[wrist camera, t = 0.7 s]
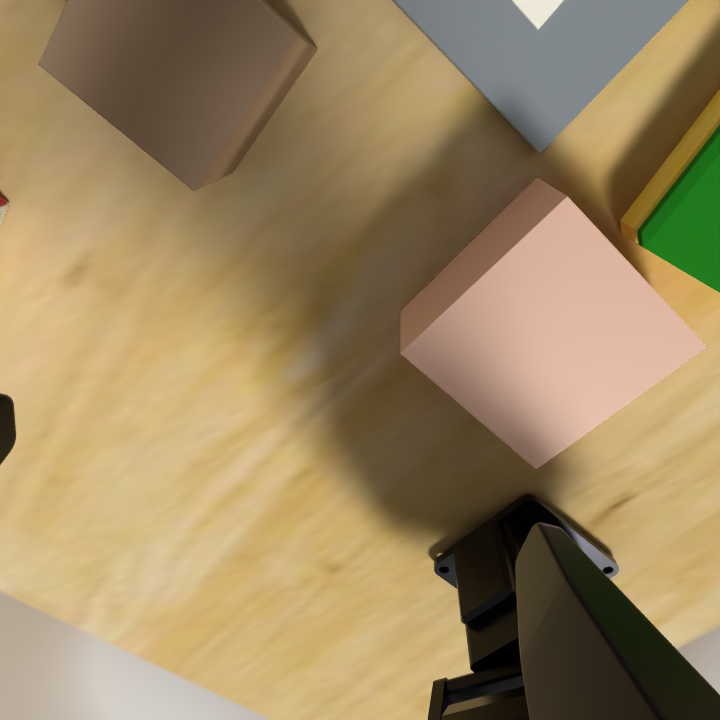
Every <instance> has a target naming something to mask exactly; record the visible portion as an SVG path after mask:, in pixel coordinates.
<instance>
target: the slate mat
mask: <svg viewBox="0 0 720 720" xmlns="http://www.w3.org/2000/svg"><path fill="white" fill-rule="evenodd" d="M392 1H393V2H394V3H395V4H396V5H397V6H398V7H399V8H400V9H401V10H402V11H403V12H404V13H405V14H406V15H407V16H408V18H409V19H410V20H411V21H412V22H413V23H414V24H415V25H416V26H417V27H418V28H419V29H420V30H421V31H422V32H423V33H424V34H425V35H426V36H427V37H428V38H429V39H430V41H431V42H432V43H433V44H434V45H435V46H436V47H437V48H438V49H439V50H440V51H441V52H442V53H443V54H444V55H445V56H446V57H447V58H448V59H449V60H450V61H451V62H452V63H453V65H454V66H455V67H456V68H457V69H458V70H459V71H460V72H461V73H462V74H463V75H464V76H465V77H466V78H467V79H468V80H469V81H470V82H471V83H472V84H473V85H474V86H475V88H476V89H477V90H478V91H479V92H480V93H481V94H482V95H483V96H484V97H485V98H486V99H487V100H488V101H489V102H490V103H491V104H492V105H493V106H494V107H495V108H496V109H497V111H498V112H499V113H500V114H501V115H502V116H503V117H504V118H505V119H506V120H507V121H508V122H509V123H510V124H511V125H512V126H513V127H514V128H515V129H516V130H517V131H518V132H519V133H520V135H521V136H522V137H523V138H524V139H525V140H526V141H527V142H528V143H529V144H530V145H531V146H532V147H533V148H534V149H535V150H536V151H537V152H539V153H541V152H542V151H543V150H544V149H545V148H546V147H547V146H548V145H549V144H550V143H551V142H552V141H553V140H554V139H555V138H556V137H557V136H558V135H559V134H560V133H561V132H562V131H563V130H564V129H565V128H566V126H567V125H568V124H569V123H570V122H571V121H572V120H573V119H574V118H575V117H576V116H577V115H578V114H579V113H580V112H581V111H582V110H583V109H584V108H585V107H586V106H587V105H588V104H589V103H590V102H591V101H592V100H593V99H594V98H595V97H596V96H597V95H598V93H599V92H600V91H601V90H602V89H603V88H604V87H605V86H606V85H607V84H608V83H609V82H610V81H611V80H612V79H613V78H614V77H615V76H616V75H617V74H618V73H619V72H620V71H621V70H622V69H623V68H624V67H625V66H626V65H627V64H628V63H629V62H630V60H631V59H632V58H633V57H634V56H635V55H636V54H637V53H638V52H639V51H640V50H641V49H642V48H643V47H644V46H645V45H646V44H647V43H648V42H649V41H650V40H651V39H652V38H653V37H654V36H655V35H656V34H657V33H658V32H659V31H660V30H661V29H662V27H663V26H664V25H665V24H666V23H667V22H668V21H669V20H670V19H671V18H672V17H673V16H674V15H675V14H676V13H677V12H678V11H679V10H680V9H681V8H682V7H683V6H684V5H685V4H686V3H687V2H688V1H689V0H392Z"/></svg>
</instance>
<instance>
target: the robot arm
mask: <svg viewBox="0 0 720 720" xmlns="http://www.w3.org/2000/svg"><path fill="white" fill-rule="evenodd" d="M15 440H16V426H15V414H14V403H13V400H12V398H11V397H9V396H8V395H5V394H1V393H0V465H1V463H2V462H3V461H4V459H5V458H6V457H7V455H8V454H9V453H10V451H11V450H12V448H13V446H14V444H15ZM527 505H533V506H531V507H526V506H527ZM442 566H446V567H442ZM434 571H435V573H436V574H437V575H438V576H440V577H441V578H443V579H444V580H446V581H447V582H448V583H450V584H451V585H453V586H454V587H455V588H457V589H458V598H459V607H460V616H461V621H462V623H463V624H465V627H466V635H467V644H468V652H469V661H470V669H471V670H472V671H473V672H474V673H470V674H467V675H463V676H459V677H456V678H452V679H447V678H443V679H439V680H435V681H434V682H433V687H432V694H431V701H430V707H429V714H428V720H720V695H719V694H718V692H717V691H716V690H715V689H714V688H713V687H712V686H711V685H710V684H709V683H708V682H707V681H706V680H705V679H704V678H703V677H702V676H701V675H700V673H699V672H698V671H697V670H696V669H695V668H694V667H693V666H692V665H691V664H690V663H689V662H688V661H687V660H686V659H685V658H684V657H683V656H682V655H681V654H680V653H679V651H678V650H677V649H676V648H675V647H674V646H673V645H672V644H671V643H670V642H669V641H668V640H667V639H666V638H665V637H664V636H663V635H662V633H661V632H660V631H659V630H658V629H657V628H656V627H655V626H654V625H653V624H652V623H651V622H650V621H649V620H648V619H647V618H646V617H645V616H644V615H643V613H642V612H641V611H640V610H639V609H638V608H637V607H636V606H635V605H634V604H633V603H632V602H631V601H630V600H629V599H628V598H627V597H626V596H625V595H624V593H623V592H622V591H621V590H620V589H619V588H618V587H617V586H616V585H615V584H614V583H613V582H612V581H611V580H610V578H611V577H613V576H615V575H616V574H617V573H618V571H619V567H618V565H617V563H616V561H615V560H614V558H612V557H611V556H610V555H609V554H608V553H606V552H605V551H604V550H603V549H601V548H600V547H599V546H598V545H596V544H595V543H594V542H593V541H591V540H590V539H589V538H588V537H586V536H585V535H584V534H583V533H581V532H580V531H579V530H578V529H576V528H575V527H574V526H573V525H571V524H570V523H569V522H568V521H567V520H565V519H564V518H563V517H562V516H560V515H559V514H558V513H557V512H555V511H554V510H553V509H552V508H550V507H549V506H548V505H547V504H545V503H544V502H543V501H542V500H540V499H539V498H538V497H536V496H535V495H530V494H529V495H524V496H522V497H521V498H519V499H518V500H516V501H515V502H514V503H512V504H511V505H509V506H508V507H507V508H505V509H504V510H503V511H501V512H500V513H498V514H497V515H496V516H494V517H493V518H491V519H490V520H489V521H487V522H486V523H485V524H483V525H482V526H480V527H479V528H478V529H476V530H475V531H473V532H472V533H471V534H469V535H468V536H467V537H465V538H464V539H462V540H461V541H460V542H458V543H457V544H456V545H454V546H453V547H451V548H450V549H449V550H447V551H446V552H444V553H443V554H442V555H440V556H439V557H438V558H436V559H435V560H434Z"/></svg>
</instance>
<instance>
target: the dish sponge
mask: <svg viewBox="0 0 720 720" xmlns="http://www.w3.org/2000/svg"><path fill="white" fill-rule="evenodd" d="M620 226H621V234H623V235H624V236H626V237H628V238H629V239H631V240H632V241H634V242H636V243H637V244H639V245H640V246H642V247H644V248H645V249H647V250H649V251H650V252H652V253H654V254H655V255H657V256H659V257H660V258H662V259H664V260H665V261H667V262H669V263H671V264H672V265H674V266H676V267H677V268H679V269H681V270H682V271H684V272H686V273H687V274H689V275H691V276H693V277H694V278H696V279H698V280H699V281H701V282H703V283H704V284H706V285H708V286H709V287H711V288H713V289H714V290H716V291H718V292H720V89H719V91H718V92H717V93H716V94H715V96H714V97H713V98H712V100H711V101H710V102H709V104H708V105H707V106H706V108H705V109H704V110H703V112H702V113H701V114H700V116H699V117H698V118H697V120H696V121H695V122H694V123H693V125H692V126H691V127H690V129H689V130H688V131H687V133H686V134H685V135H684V137H683V138H682V139H681V141H680V142H679V143H678V145H677V146H676V147H675V149H674V150H673V151H672V153H671V154H670V155H669V156H668V158H667V159H666V160H665V162H664V163H663V164H662V166H661V167H660V168H659V170H658V171H657V172H656V174H655V175H654V176H653V178H652V179H651V180H650V182H649V183H648V184H647V185H646V187H645V188H644V189H643V191H642V192H641V193H640V195H639V196H638V197H637V199H636V200H635V201H634V203H633V204H632V205H631V207H630V208H629V209H628V211H627V212H626V213H625V215H624V216H623V217H622V218H621V220H620Z"/></svg>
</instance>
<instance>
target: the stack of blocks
mask: <svg viewBox="0 0 720 720" xmlns="http://www.w3.org/2000/svg"><path fill="white" fill-rule="evenodd" d="M8 206H9V203H8V202H7V201H6V200H5V199H4V198H2V197H1V196H0V226H1V223H2V221H3V219H4V216H5V214H6V212H7V209H8Z"/></svg>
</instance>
